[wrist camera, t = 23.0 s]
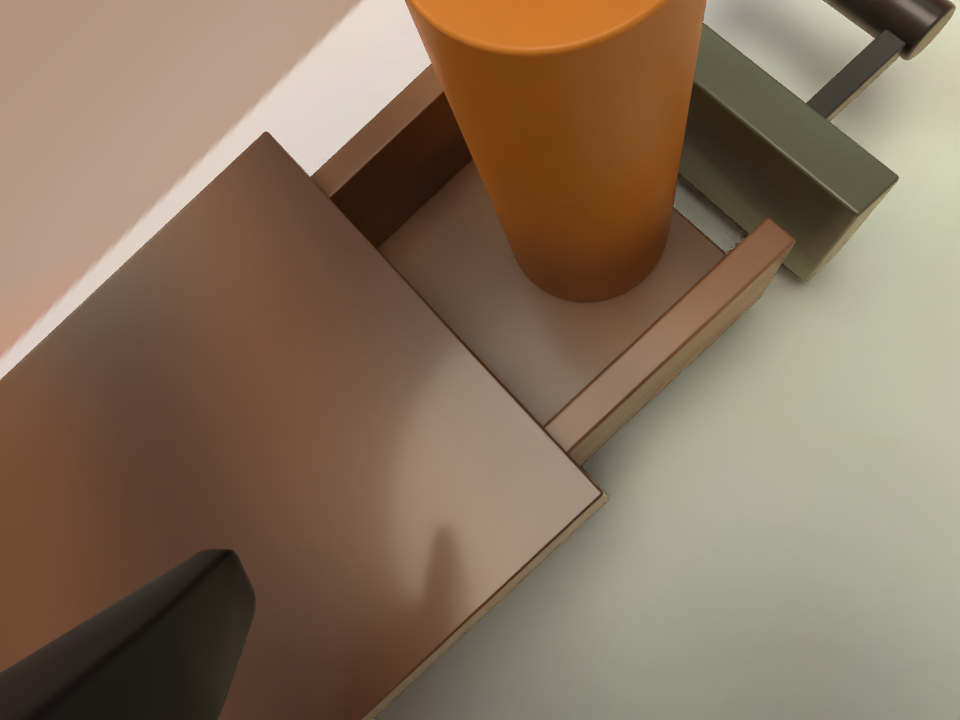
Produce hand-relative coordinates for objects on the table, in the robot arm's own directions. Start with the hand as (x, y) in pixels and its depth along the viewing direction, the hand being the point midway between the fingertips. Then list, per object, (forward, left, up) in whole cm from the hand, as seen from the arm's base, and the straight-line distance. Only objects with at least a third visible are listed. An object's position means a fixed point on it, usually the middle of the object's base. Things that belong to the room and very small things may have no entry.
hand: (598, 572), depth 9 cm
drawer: (+6, -6, -11) cm, 14 cm away
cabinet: (+6, +6, -12) cm, 15 cm away
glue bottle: (+6, -5, -10) cm, 13 cm away
